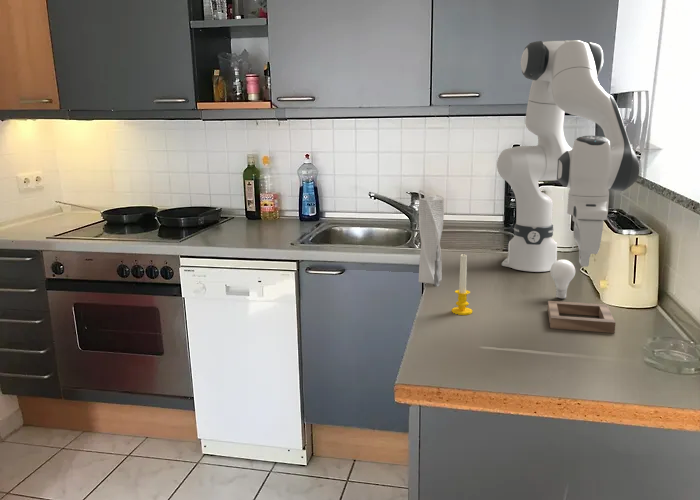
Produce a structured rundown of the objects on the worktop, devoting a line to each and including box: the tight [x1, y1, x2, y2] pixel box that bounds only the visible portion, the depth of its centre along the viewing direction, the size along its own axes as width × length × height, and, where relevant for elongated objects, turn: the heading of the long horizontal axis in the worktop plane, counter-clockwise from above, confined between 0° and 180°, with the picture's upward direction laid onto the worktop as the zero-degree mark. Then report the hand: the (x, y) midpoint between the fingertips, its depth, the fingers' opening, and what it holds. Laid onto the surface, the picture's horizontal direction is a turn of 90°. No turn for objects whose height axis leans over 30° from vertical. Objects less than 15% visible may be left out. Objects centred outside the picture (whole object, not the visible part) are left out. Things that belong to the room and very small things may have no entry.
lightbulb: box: [549, 259, 576, 300], centre depth 162 cm, size 6×6×11 cm
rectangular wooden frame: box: [547, 300, 616, 334], centre depth 146 cm, size 14×14×2 cm
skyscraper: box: [418, 190, 445, 287], centre depth 177 cm, size 8×8×28 cm
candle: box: [451, 253, 473, 316], centre depth 152 cm, size 5×5×16 cm
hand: (583, 264), depth 143 cm, fingers closed
